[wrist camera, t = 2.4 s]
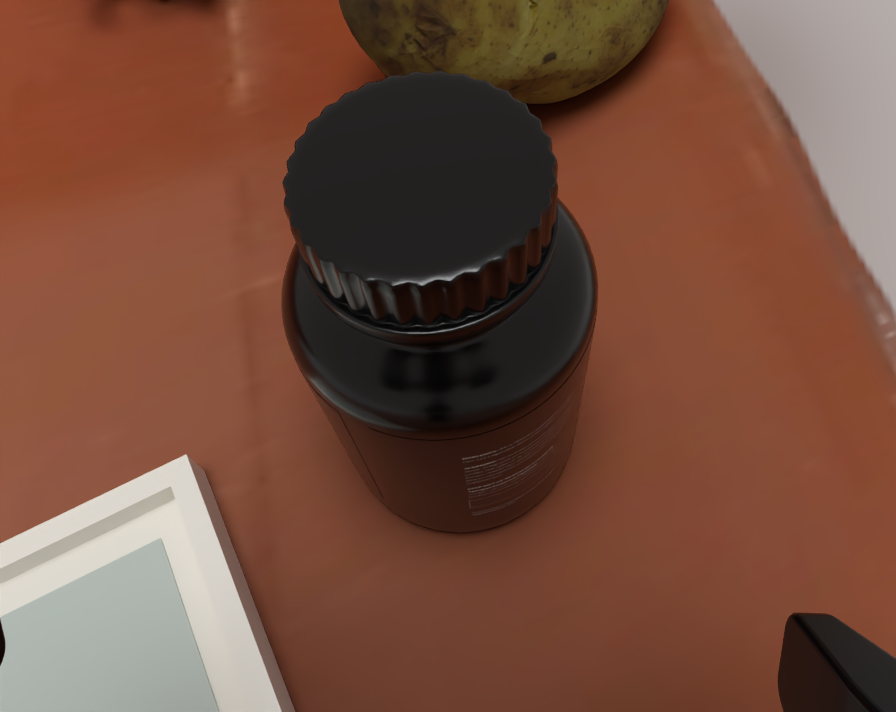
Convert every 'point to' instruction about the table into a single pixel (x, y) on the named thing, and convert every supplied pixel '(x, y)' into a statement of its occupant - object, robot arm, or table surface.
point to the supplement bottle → (439, 296)
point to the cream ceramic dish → (134, 607)
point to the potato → (507, 40)
